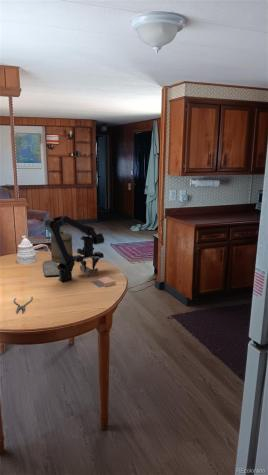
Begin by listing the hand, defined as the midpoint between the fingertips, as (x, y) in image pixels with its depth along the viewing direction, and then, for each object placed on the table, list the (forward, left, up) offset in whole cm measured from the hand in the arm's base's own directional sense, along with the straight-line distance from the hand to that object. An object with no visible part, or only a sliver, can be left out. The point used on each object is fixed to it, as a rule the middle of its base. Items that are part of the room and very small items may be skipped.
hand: (89, 269), depth 219 cm
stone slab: (-16, +22, -4) cm, 28 cm away
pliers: (-48, -22, -4) cm, 53 cm away
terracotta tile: (0, -16, -1) cm, 16 cm away
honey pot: (-23, +49, -3) cm, 55 cm away
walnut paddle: (0, +2, -3) cm, 4 cm away
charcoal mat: (-1, -19, -3) cm, 19 cm away
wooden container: (-1, +38, -3) cm, 39 cm away
